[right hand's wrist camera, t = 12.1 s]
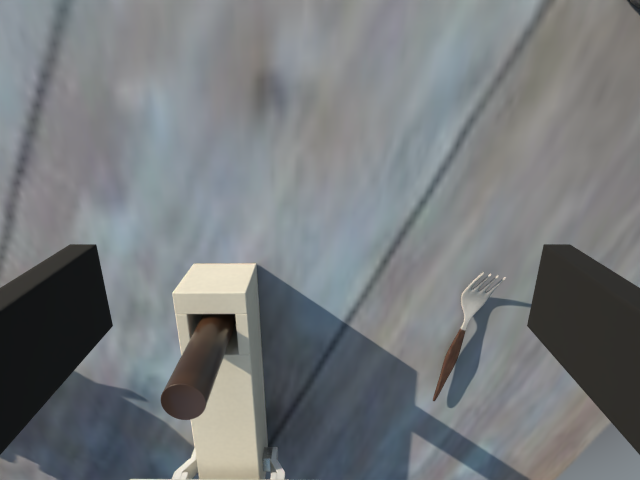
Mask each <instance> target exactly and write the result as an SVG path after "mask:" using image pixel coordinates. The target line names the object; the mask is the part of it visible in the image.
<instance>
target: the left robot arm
mask: <svg viewBox="0 0 640 480" xmlns="http://www.w3.org/2000/svg"><path fill="white" fill-rule="evenodd" d="M262 461H263V471H267V472H271V478H270V479H192V478H193V477H194V476H195V475H196V474H197V473H198V466H197V459H196V452H195V448H194V451H193V454H192V456H191V459H189V460H187V461H186V462H185V463H184V464H183V465H182V466H181V467H179V468H178V469H177V470H176V471H175V472H174V475H173V477H172V479H130V480H287V479H285V471H284V470H283V468H282V466H281V465H280V463H279V461H278V447H264V453H263V458H262Z"/></svg>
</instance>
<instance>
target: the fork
mask: <svg viewBox="0 0 640 480" xmlns="http://www.w3.org/2000/svg"><path fill="white" fill-rule="evenodd" d="M483 274H484V272H483V273H481V274H480V275H479V276H478V277H477V278H476V279H475V280H474V281H473V282H472V283H471V284H470V285H469V286H468V287H467V288H466V289H465V290H464V292H463V293H462V296H461V305H462V309H463V312H464V322H463V325H462V327H461V328H460V330H459V332H458V334H457V335H456V337H455V339H454V341H453V342H452V344H451V346H450V348H449V350H448V352H447V354H446V357H445V359H444V363H443V367H442V370H441V374H440V378H439V381H438V384H437V387H436V390H435V394H434V397H433V401H435V400H436V398H437V397H438V395H439V393H440V391H441V389H442V387H443V386H444V384H445V382H446V380H447V378H448V376H449V374H450V373H451V371H452V369H453V367H454V365H455V363H456V361H457V358H458V356H459V352H460V349H461V345H462V342H463V338H464V334H465V331H466V327H467V324H468V322H469V320H470V319H471V318H472V316H473V315H474V314H475V313H476V312H477V311H478V310H479V309H480V308H481V307H482V306H483V305H484V304H485V302H486V301H487V300H488V298H489V297H490V295H491V294H492V292H493V291H494V290H495V289H496V288H497V287H498V286H499V285H500V284H501V282H503V281H504V280H505V279H506V277H504V278H503V279H502V280H501V281H499V282H498V283H497V284H496V285H495V286H494V287H492V288H491V289H490V290H489V291H488V292H486V290H487V288H488V287H489V286H490V285H491V284H492V283H493V282H494V281H495V280H496V279H497V278H498V276H496V277H495V278H494V279H493V280H491V281H490V282H489V283H488V284H487V285H486V286H485V287H484V288H483V289H482V290H480V291H479V288H480V287H481V286H482V284H483V283H484V282H485V281H486V280H487V279H488V278H489V277H490V276H491V274H489V275H488V276H487V277H486V278H485V279H484V280H483V281H481V282H480V283H479V284H478V285H477V286H476V287H475V288H474V289H472V287H473V285H474V284H475V283H476V282H477V280H478V279H479V278H480V277H481V276H482V275H483Z"/></svg>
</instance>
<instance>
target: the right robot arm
mask: <svg viewBox="0 0 640 480" xmlns="http://www.w3.org/2000/svg"><path fill="white" fill-rule="evenodd" d="M630 1H631V2H632V3H633V4H634V5H635V6H636V7H638V8H639V9H640V0H630ZM112 326H113V325H112V320H111V315H110V310H109V305H108V300H107V295H106V290H105V285H104V280H103V276H102V271H101V266H100V261H99V256H98V251H97V246H96V245H69V246H67V247H65V248H64V249H62V250H61V251H59V252H57V253H56V254H54V255H53V256H51V257H49V258H48V259H46V260H45V261H43V262H41V263H40V264H38V265H37V266H35V267H33V268H32V269H30V270H29V271H27V272H25V273H24V274H22V275H21V276H19V277H17V278H16V279H14V280H12V281H11V282H9V283H8V284H6V285H4V286H3V287H1V288H0V454H1V453H2V452H3V451H4V450H5V449H6V448H7V446H8V445H9V444H10V443H11V442H12V441H13V440H14V438H15V437H16V436H17V435H18V434H19V433H20V431H21V430H22V429H23V428H24V427H25V426H26V425H27V423H28V422H29V421H30V420H31V419H32V418H33V417H34V415H35V414H36V413H37V412H38V411H39V410H40V409H41V407H42V406H43V405H44V404H45V403H46V402H47V401H48V399H49V398H50V397H51V396H52V395H53V394H54V393H55V391H56V390H57V389H58V388H59V387H60V386H61V385H62V383H63V382H64V381H65V380H66V379H67V378H68V377H69V375H70V374H71V373H72V372H73V371H74V370H75V369H76V367H77V366H78V365H79V364H80V363H81V362H82V361H83V359H84V358H85V357H86V356H87V355H88V354H89V352H90V351H91V350H92V349H93V348H94V347H95V346H96V344H97V343H98V342H99V341H100V340H101V339H102V338H103V336H104V335H105V334H106V333H107V332H108V331H109V330H110V328H111V327H112ZM527 326H528V327H529V328H530V330H531V331H532V332H533V333H534V334H535V335H536V336H537V338H538V339H539V340H540V341H541V342H542V343H543V344H544V346H545V347H546V348H547V349H548V350H549V351H550V352H551V354H552V355H553V356H554V357H555V358H556V359H557V361H558V362H559V363H560V364H561V365H562V366H563V367H564V369H565V370H566V371H567V372H568V373H569V374H570V375H571V377H572V378H573V379H574V380H575V381H576V382H577V383H578V385H579V386H580V387H581V388H582V389H583V390H584V391H585V393H586V394H587V395H588V396H589V397H590V398H591V399H592V401H593V402H594V403H595V404H596V405H597V406H598V407H599V409H600V410H601V411H602V412H603V413H604V414H605V415H606V417H607V418H608V419H609V420H610V421H611V422H612V423H613V425H614V426H615V427H616V428H617V429H618V430H619V431H620V433H621V434H622V435H623V436H624V437H625V438H626V439H627V441H628V442H629V443H630V444H631V445H632V446H633V448H634V449H635V450H636V451H637V452H638V453H639V454H640V288H639V287H637V286H636V285H634V284H632V283H631V282H629V281H628V280H626V279H624V278H623V277H621V276H619V275H618V274H616V273H615V272H613V271H611V270H610V269H608V268H607V267H605V266H603V265H602V264H600V263H599V262H597V261H595V260H594V259H592V258H591V257H589V256H587V255H586V254H584V253H583V252H581V251H579V250H578V249H576V248H575V247H573V246H571V245H544V246H543V251H542V256H541V261H540V266H539V271H538V276H537V280H536V285H535V290H534V295H533V300H532V305H531V310H530V315H529V320H528V325H527Z"/></svg>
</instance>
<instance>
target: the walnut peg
mask: <svg viewBox="0 0 640 480" xmlns="http://www.w3.org/2000/svg"><path fill="white" fill-rule="evenodd" d="M235 324H236V315H235V314H203V315H202V317H201V319H200V321H199V323H198V325H197V327H196V329H195V331H194V333H193V335H192V337H191V339H190V341H189V342H188V344H187V346H186V348H185V350H184V352H183V354H182V356H181V358H180V360H179V362H178V364H177V366H176V368H175V370H174V372H173V373H172V375H171V377H170V379H169V381H168V383H167V385H166V387H165V389H164V391H163V393H162V395H161V404H162V407H163V409H164V410H165V411H166V412H167V413H168V414H169V415H171V416H172V417H174V418H177V419H181V420H190V419H194V418H197V417H199V416H200V415H201V414H202V413H203V412H204V410H205V408H206V405H207V403H208V400H209V397H210V394H211V391H212V389H213V386H214V383H215V380H216V377H217V375H218V372H219V369H220V366H221V363H222V361H223V358H224V355H225V352H226V349H227V347H228V344H229V341H230V338H231V335H232V333H233V330H234V327H235Z"/></svg>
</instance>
